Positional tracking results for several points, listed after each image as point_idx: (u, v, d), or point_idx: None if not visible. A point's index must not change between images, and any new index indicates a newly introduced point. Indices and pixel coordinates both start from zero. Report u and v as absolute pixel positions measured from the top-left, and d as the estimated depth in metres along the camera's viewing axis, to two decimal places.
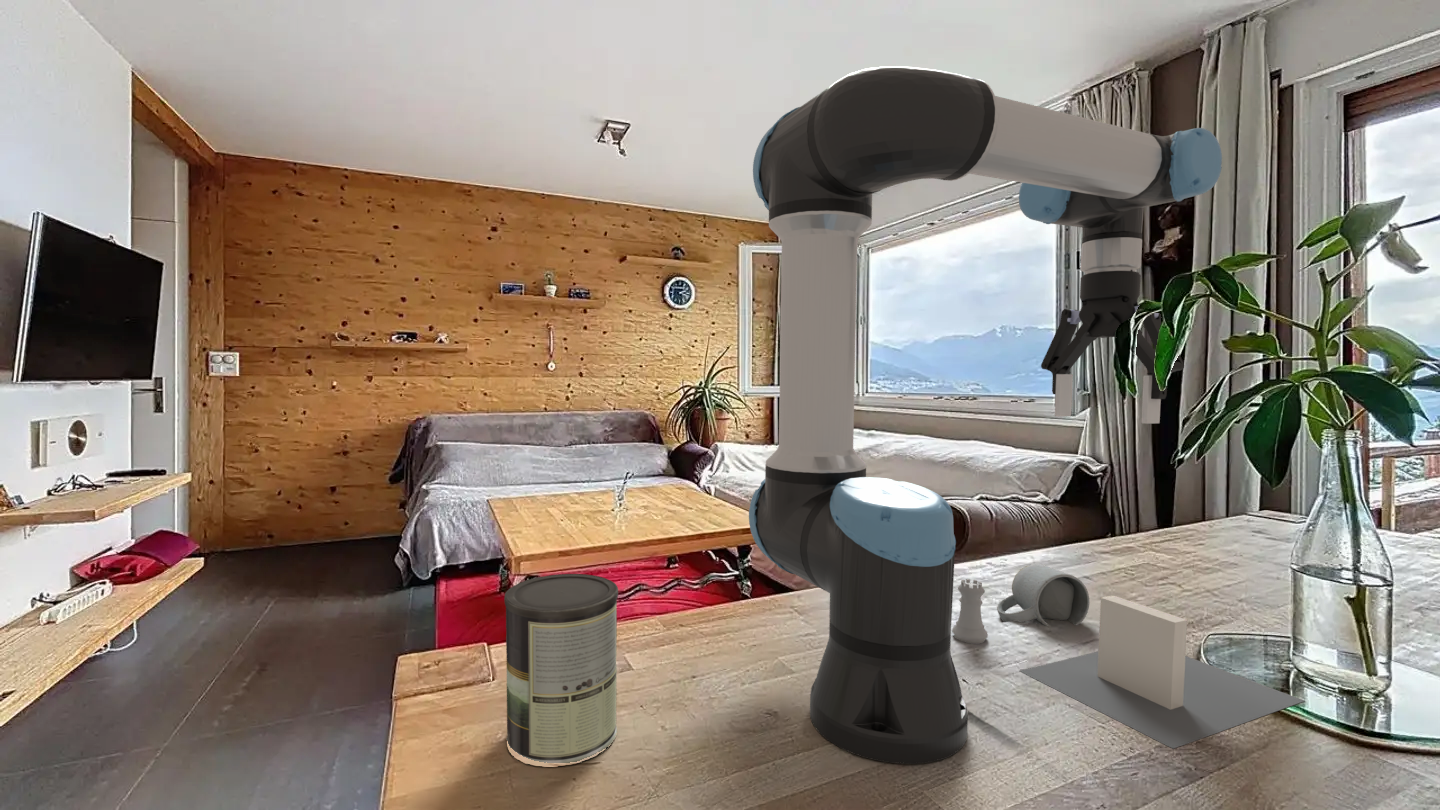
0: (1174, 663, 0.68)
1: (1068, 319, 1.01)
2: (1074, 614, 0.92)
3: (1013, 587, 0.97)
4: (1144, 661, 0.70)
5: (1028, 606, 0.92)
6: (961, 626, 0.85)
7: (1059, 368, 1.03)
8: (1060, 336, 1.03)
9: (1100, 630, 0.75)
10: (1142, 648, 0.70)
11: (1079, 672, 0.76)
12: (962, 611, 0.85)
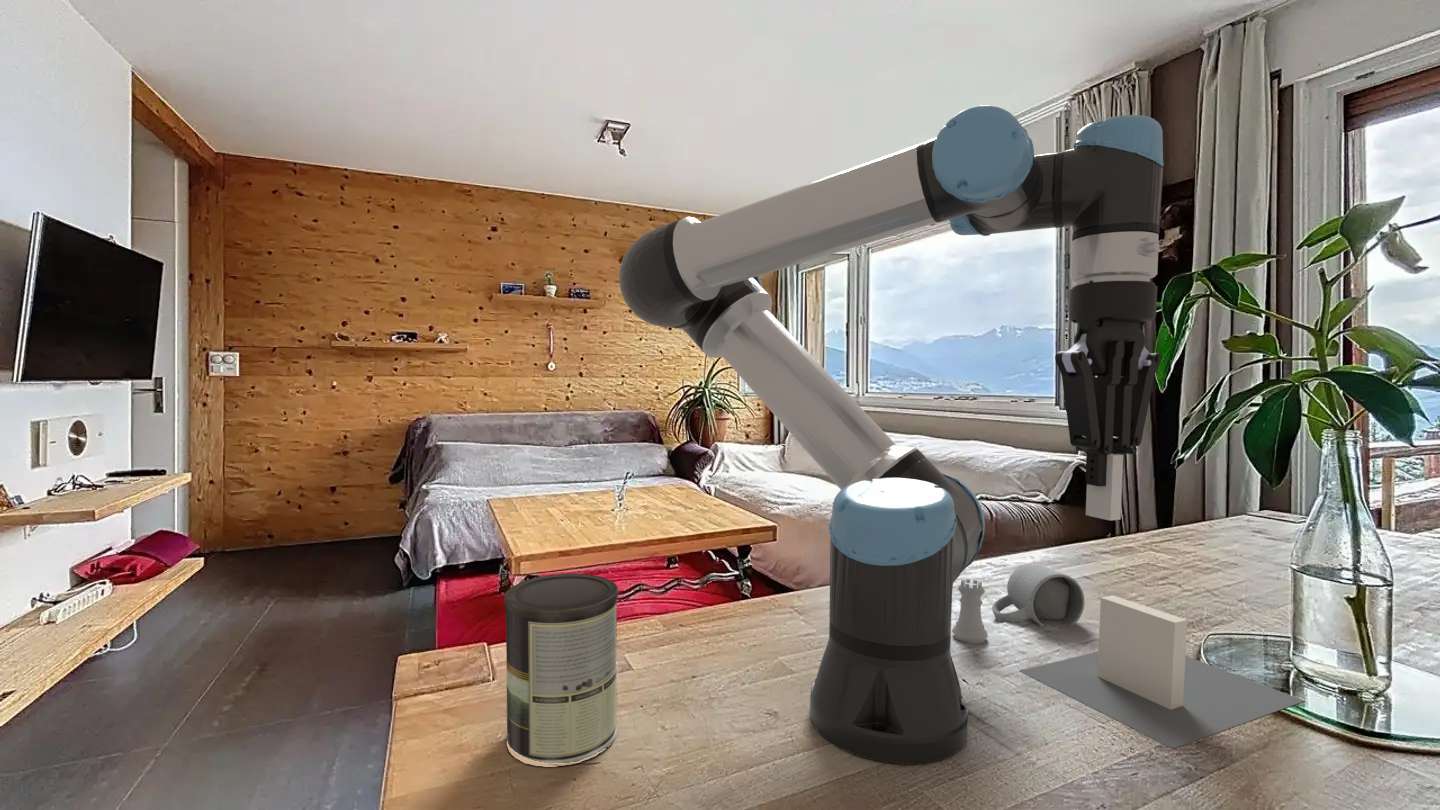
0: (1174, 663, 0.68)
1: None
2: (1069, 614, 0.92)
3: (1008, 587, 0.97)
4: (1144, 661, 0.70)
5: (1023, 606, 0.92)
6: (961, 626, 0.85)
7: None
8: None
9: (1100, 630, 0.75)
10: (1142, 648, 0.70)
11: (1079, 672, 0.76)
12: (962, 611, 0.85)
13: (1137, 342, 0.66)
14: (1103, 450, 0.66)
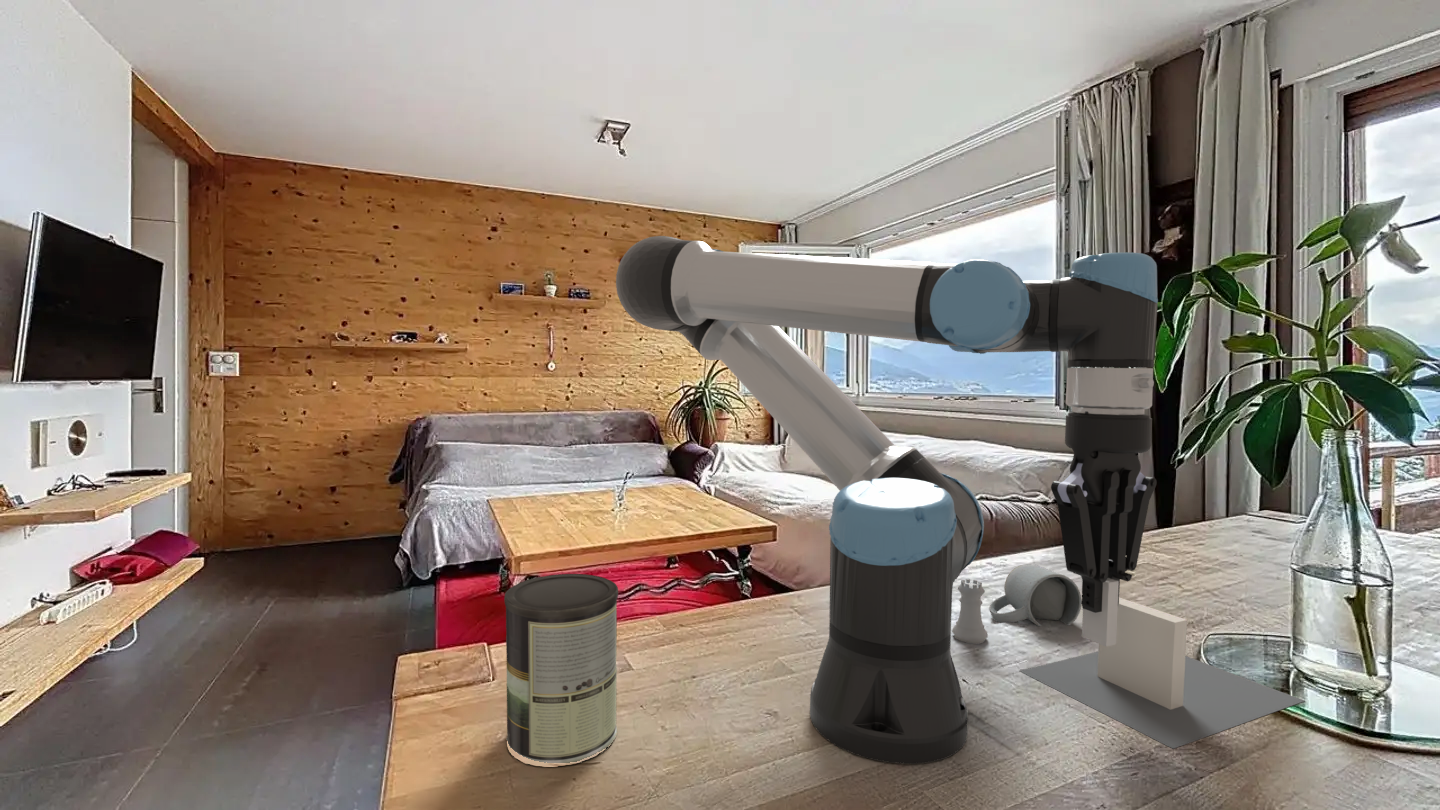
0: (1174, 663, 0.68)
1: None
2: (1066, 614, 0.92)
3: (1005, 587, 0.97)
4: (1144, 661, 0.70)
5: (1020, 606, 0.92)
6: (961, 626, 0.85)
7: None
8: None
9: None
10: (1142, 648, 0.70)
11: (1079, 672, 0.76)
12: (962, 611, 0.85)
13: (1132, 471, 0.66)
14: (1099, 578, 0.66)
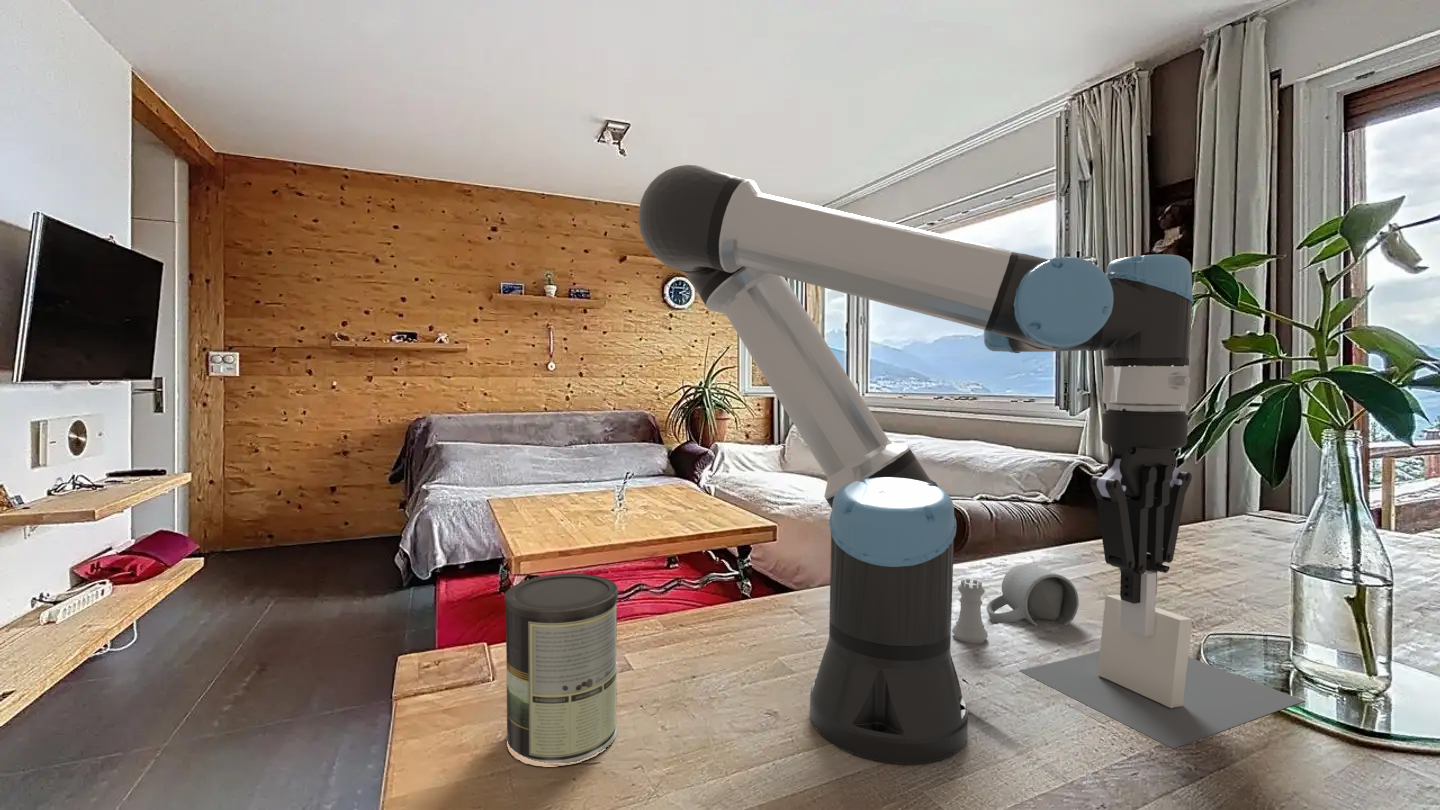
0: (1177, 661, 0.68)
1: None
2: (1063, 614, 0.92)
3: (1003, 587, 0.97)
4: (1146, 659, 0.70)
5: (1017, 606, 0.92)
6: (961, 626, 0.85)
7: None
8: None
9: (1103, 628, 0.75)
10: (1145, 646, 0.71)
11: (1079, 672, 0.76)
12: (962, 611, 0.85)
13: (1169, 466, 0.69)
14: (1137, 570, 0.69)
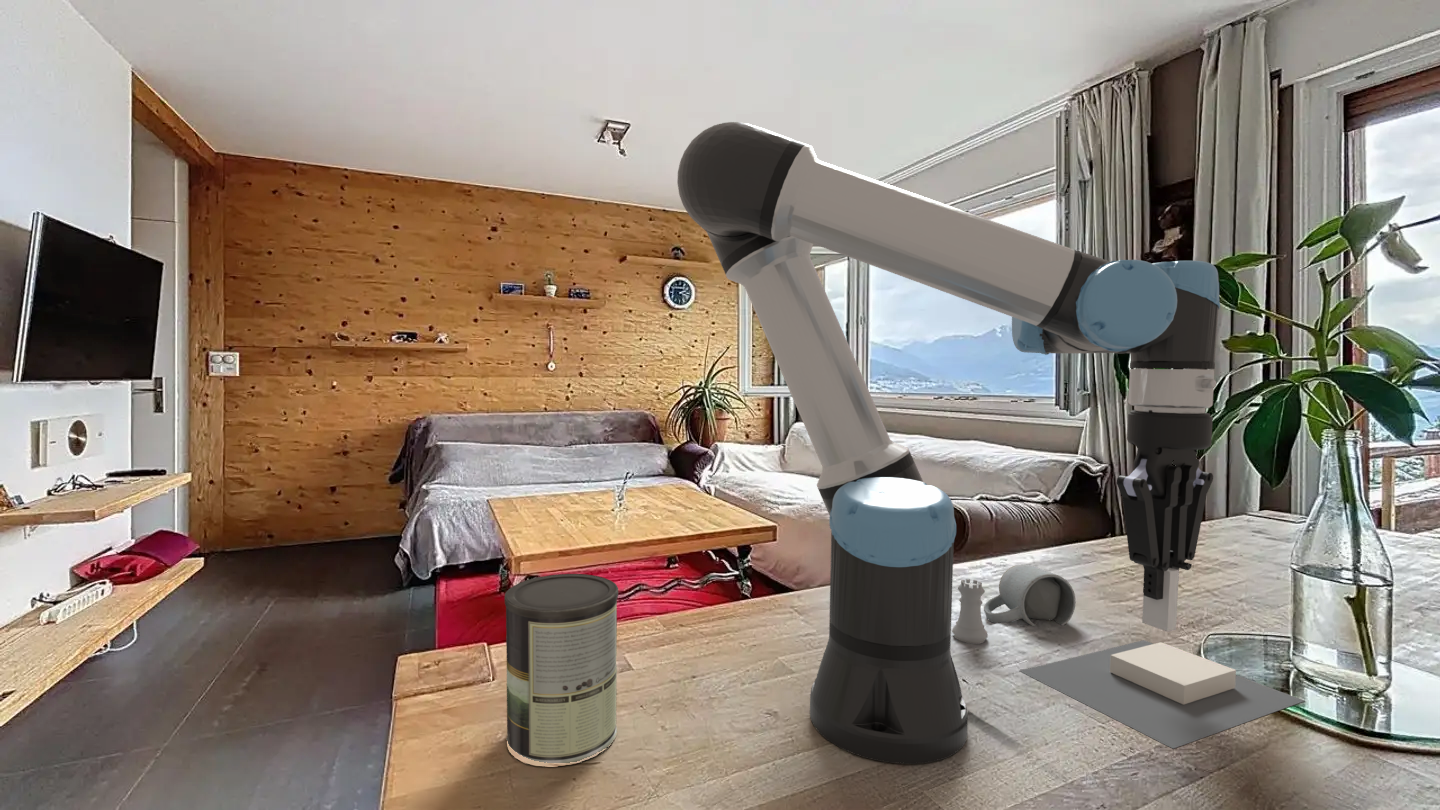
0: (1211, 679, 0.71)
1: None
2: (1060, 614, 0.92)
3: (1000, 587, 0.96)
4: (1178, 667, 0.73)
5: (1014, 606, 0.92)
6: (961, 626, 0.85)
7: None
8: None
9: (1142, 647, 0.78)
10: (1183, 664, 0.74)
11: (1079, 672, 0.76)
12: (962, 611, 0.85)
13: (1193, 467, 0.71)
14: (1161, 567, 0.71)
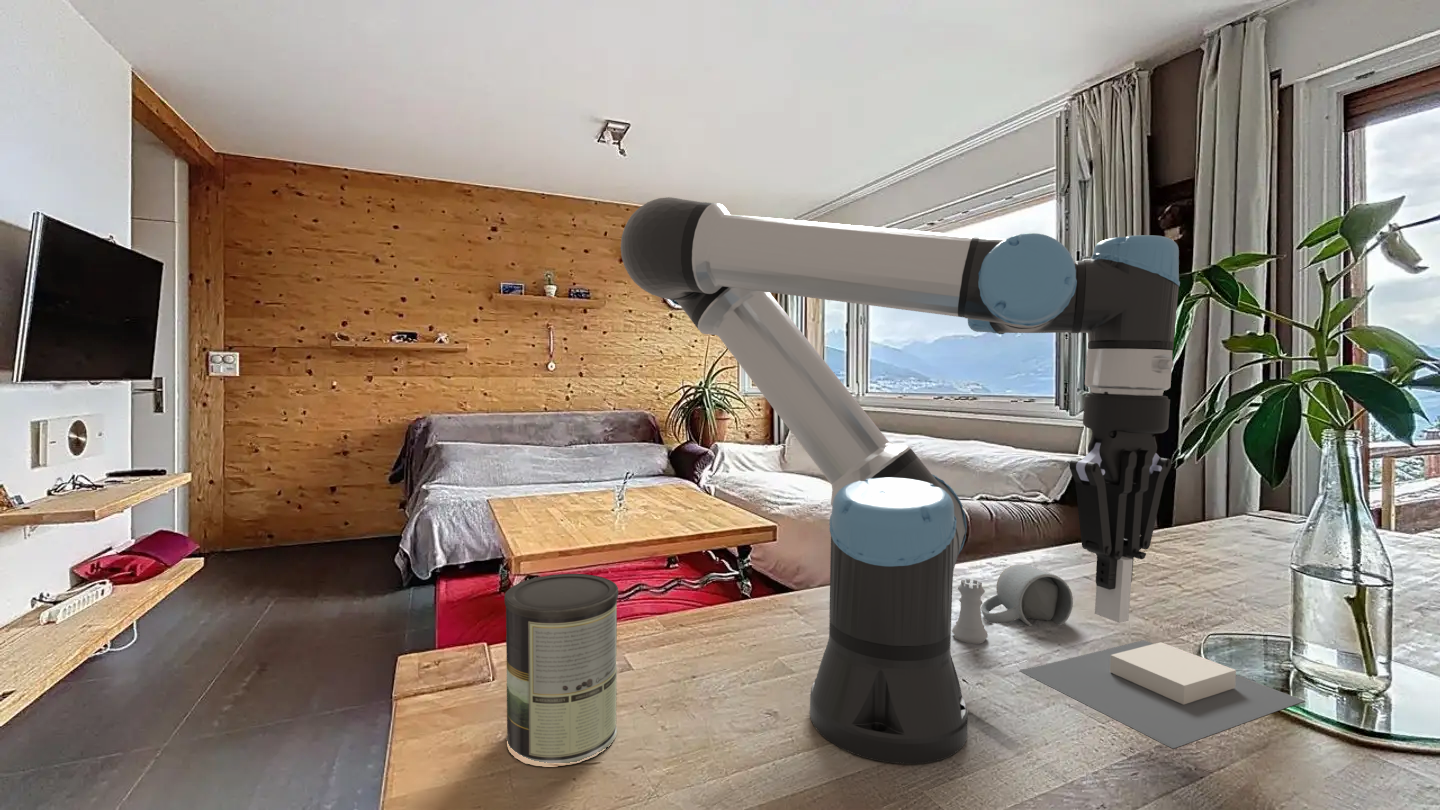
0: (1211, 679, 0.71)
1: None
2: (1058, 614, 0.92)
3: (997, 587, 0.96)
4: (1178, 667, 0.73)
5: (1012, 606, 0.92)
6: (961, 626, 0.85)
7: None
8: None
9: (1142, 647, 0.78)
10: (1183, 664, 0.74)
11: (1079, 672, 0.76)
12: (962, 611, 0.85)
13: (1149, 452, 0.68)
14: (1114, 555, 0.68)
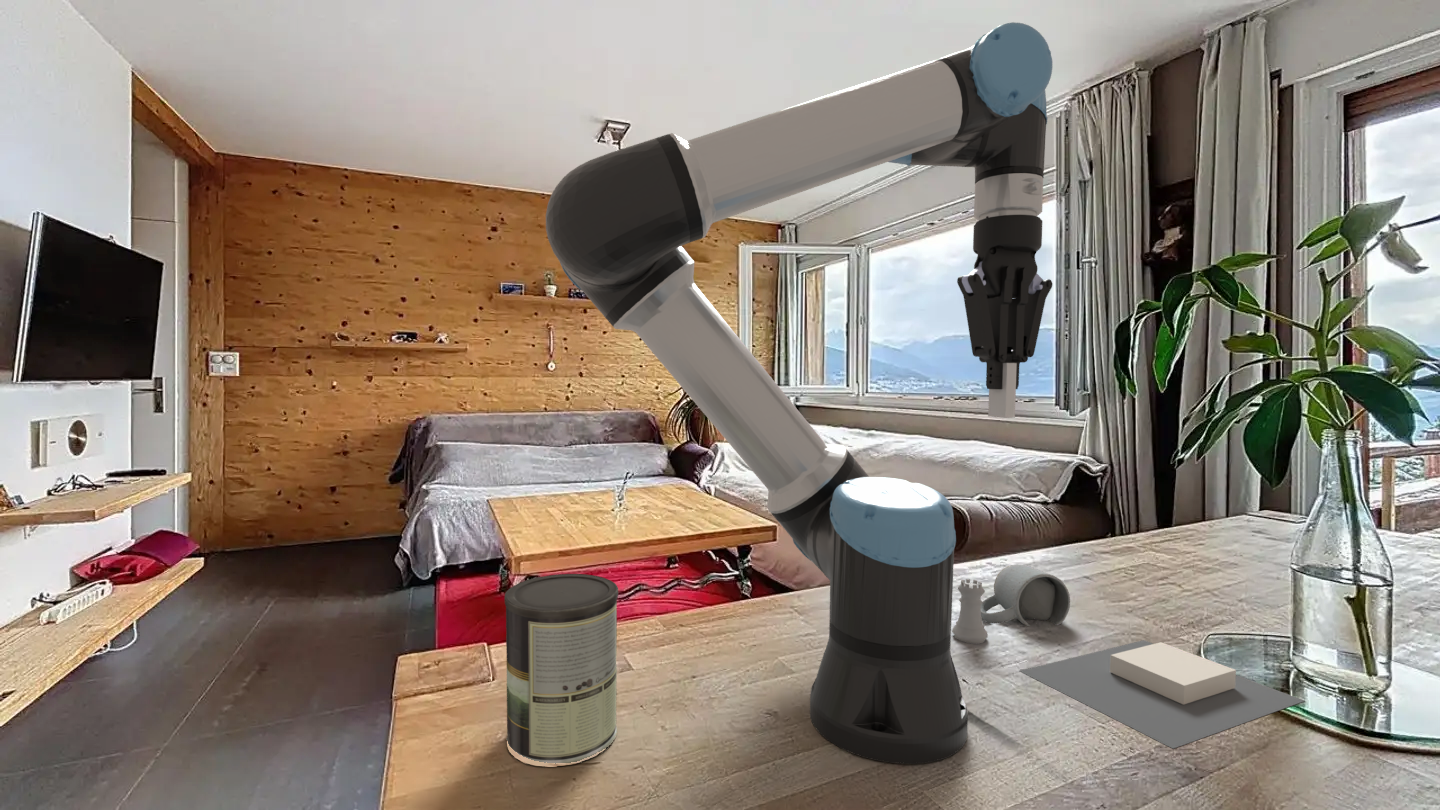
0: (1211, 679, 0.71)
1: None
2: (1055, 614, 0.92)
3: (995, 587, 0.96)
4: (1178, 667, 0.73)
5: (1009, 606, 0.92)
6: (961, 626, 0.85)
7: None
8: None
9: (1142, 647, 0.78)
10: (1183, 664, 0.74)
11: (1079, 672, 0.76)
12: (962, 611, 0.85)
13: (1027, 268, 0.79)
14: (998, 358, 0.79)
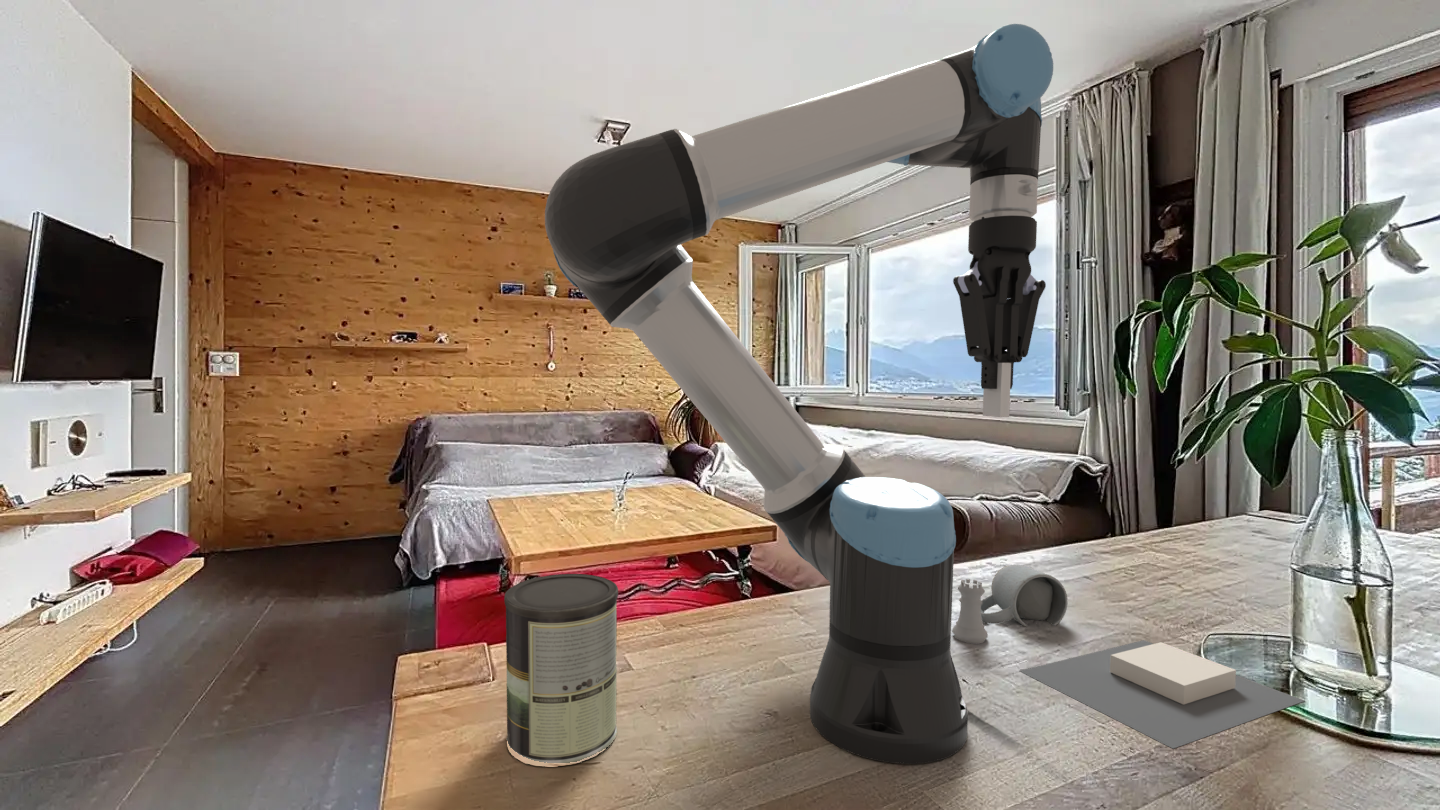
0: (1211, 679, 0.71)
1: None
2: (1052, 614, 0.92)
3: (992, 587, 0.96)
4: (1178, 667, 0.73)
5: (1006, 606, 0.92)
6: (961, 626, 0.85)
7: None
8: None
9: (1142, 647, 0.78)
10: (1183, 664, 0.74)
11: (1079, 672, 0.76)
12: (962, 611, 0.85)
13: (1021, 268, 0.79)
14: (993, 358, 0.79)
